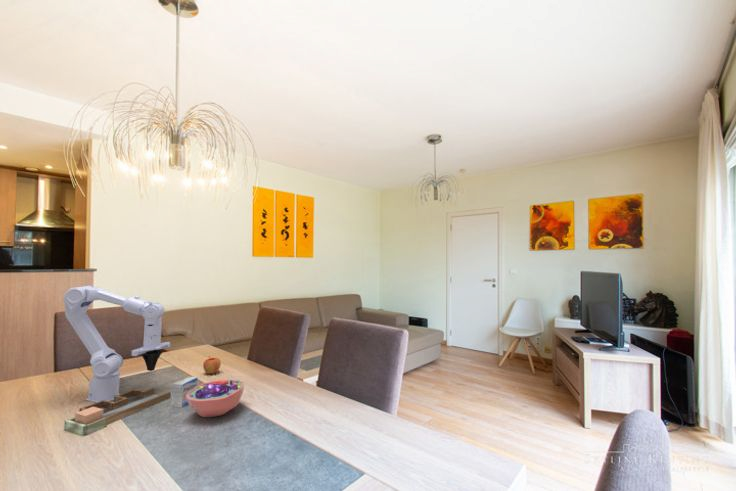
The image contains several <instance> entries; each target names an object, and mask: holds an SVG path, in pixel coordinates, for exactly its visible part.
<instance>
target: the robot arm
mask: <svg viewBox="0 0 736 491" xmlns="http://www.w3.org/2000/svg"><path fill="white" fill-rule="evenodd" d="M62 301H63V302H64V315H65V317H66V320H68V322H69V323H70V325H71V327H72V328H73V331H75V334H76V335H77V336H78V337H79V339H80V341H81V342H82V344H83V345H84V347H85V348H86V350H87V351H88V353H89V354H90V360H89V364H90V365H91V368H92V369H91V370H92V374H93V376H92V377H91V378H90V380H89V384H88V397H87V398H85V401H88V402H89V401H90V402H94V403H97V402H100V401H102V400H107V401H111V402H112V401H114V396H116V395H119V394H120V393H119V391H120V376H121V375H120V374H121V373H120V368H121V367H122V366H123V364H124V359H123V357H122V356H121V354H118V353H117V352H116V350H115V349H113V348H111V347H109V346H108V345H107V343H106V342H105V340H104V339H103V337H102V336H101V334H100V332H99V331H98V329H97V328H96V327H95V325H94V323H93V322H92V320H91V319H90V317H89V315H88V313H87V311H88V309H89V307H90V306H91V305H92V303H94V301H102V302H106V303H108V304H109V303H110V304H113V305H117V306H121V307H122V308H123V310H124V311H125V312H129V313H132V314H135V315H138V316H140V317H141V316H142V317H143V319H144V326H143V327H144V328H143V329H144V330H143V342H142V344H143V345H142V346H141V347H138V348H136V349H133V350H131V356H132V357H137V356H139V355H141V357H142V358H143V360H144V363H145V366H146V369H147V370H146V371H155V368H156V366H157V363H158V360H159V358H160V357H161V355H162V354H163V351H162V350H163V349H166V348H171V342H170V341H165V342H161V341H162V328H163V327H162V325H163V323H162V320H163V319H162V318H163V316H162V315H164V313H165V307H164V305H162V304H161V303H159V302H154V303H153V301H151V300H149V301H148V300H144V299H142V298H141V297H140V296H138V295H136V296H129V297H125V296H122V295H120V294H118V293H114V292H112V291H109V290H106V289H104V288H101V287H98V286H95V285H91V284H89V285H85V286H78V287H77V286H75V287H71V288H69V289H67V290H66V292H65V294H64V296H63V298H62Z"/></svg>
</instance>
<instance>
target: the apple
mask: <svg viewBox="0 0 736 491" xmlns="http://www.w3.org/2000/svg"><path fill="white" fill-rule="evenodd" d="M202 367H203V370H204V371H205V373H206V374H208V375H210V374H211V375H214V374H215V373H217V372H218V371H219V370H220V368H221V360H220V359H219V358H217V357H211V356H210V355H209V356H208V359H205V361H203V366H202Z"/></svg>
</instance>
